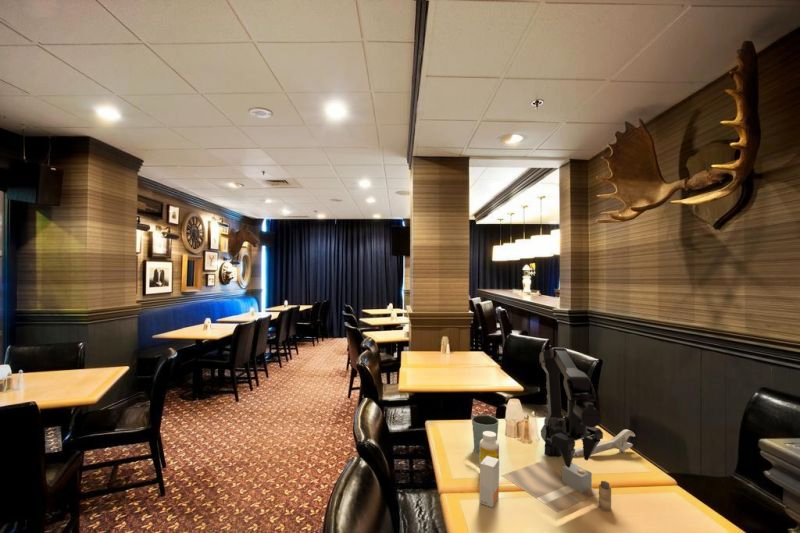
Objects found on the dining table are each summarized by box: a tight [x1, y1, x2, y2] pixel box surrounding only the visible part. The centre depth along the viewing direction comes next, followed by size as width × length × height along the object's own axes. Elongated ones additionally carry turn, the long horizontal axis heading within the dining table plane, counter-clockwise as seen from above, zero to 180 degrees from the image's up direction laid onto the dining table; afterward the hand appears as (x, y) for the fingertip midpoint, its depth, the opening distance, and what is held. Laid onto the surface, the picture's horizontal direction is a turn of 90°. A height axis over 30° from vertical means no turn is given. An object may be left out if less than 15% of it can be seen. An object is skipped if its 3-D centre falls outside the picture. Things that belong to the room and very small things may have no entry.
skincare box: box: [479, 456, 500, 508], centre depth 114 cm, size 6×4×12 cm
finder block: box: [561, 462, 593, 493], centre depth 121 cm, size 5×7×5 cm
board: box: [501, 460, 599, 513], centre depth 122 cm, size 20×22×1 cm
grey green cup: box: [471, 414, 499, 454], centre depth 146 cm, size 10×10×12 cm
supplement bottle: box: [478, 431, 500, 469], centre depth 131 cm, size 7×7×13 cm
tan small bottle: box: [598, 480, 612, 512], centre depth 112 cm, size 3×3×7 cm
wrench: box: [574, 429, 636, 457], centre depth 144 cm, size 8×2×30 cm
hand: (577, 463), depth 121 cm, fingers open, 9 cm apart
